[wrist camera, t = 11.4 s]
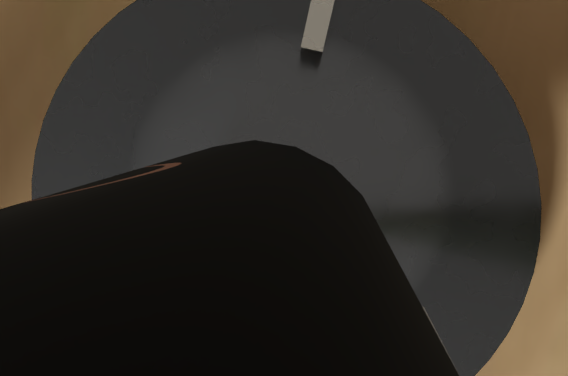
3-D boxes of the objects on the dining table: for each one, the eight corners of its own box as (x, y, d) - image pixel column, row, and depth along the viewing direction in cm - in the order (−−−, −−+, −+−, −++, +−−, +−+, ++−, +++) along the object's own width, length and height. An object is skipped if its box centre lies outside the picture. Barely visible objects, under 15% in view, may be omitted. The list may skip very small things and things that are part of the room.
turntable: (44, 360, 24) (-66, 459, 17) (77, -74, 18) (-71, -185, 11) (429, 467, 23) (475, 620, 16) (603, 37, 17) (795, -13, 10)
